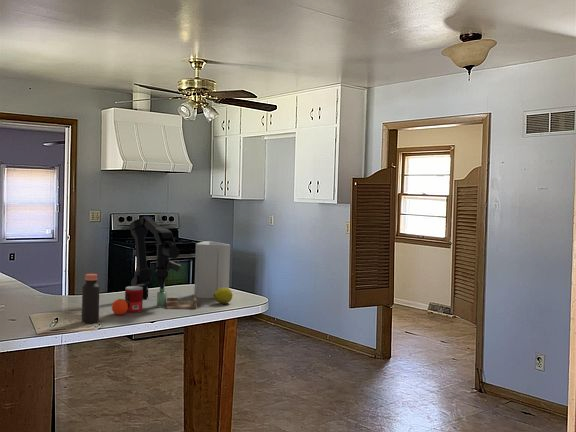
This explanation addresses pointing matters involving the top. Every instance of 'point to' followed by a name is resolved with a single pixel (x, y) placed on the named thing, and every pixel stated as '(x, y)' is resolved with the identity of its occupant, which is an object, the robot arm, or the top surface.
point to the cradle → (181, 304)
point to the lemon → (223, 295)
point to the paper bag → (211, 268)
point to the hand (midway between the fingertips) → (162, 288)
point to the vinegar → (90, 299)
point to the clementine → (120, 306)
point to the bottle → (161, 297)
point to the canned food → (134, 298)
